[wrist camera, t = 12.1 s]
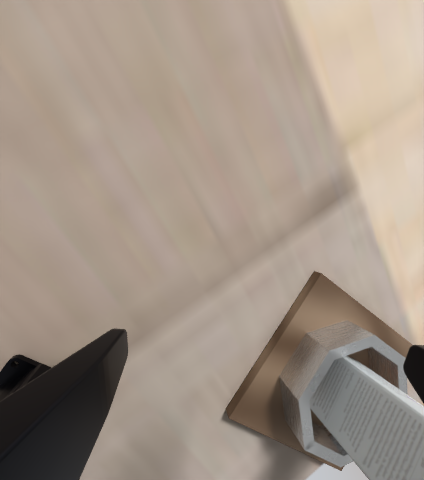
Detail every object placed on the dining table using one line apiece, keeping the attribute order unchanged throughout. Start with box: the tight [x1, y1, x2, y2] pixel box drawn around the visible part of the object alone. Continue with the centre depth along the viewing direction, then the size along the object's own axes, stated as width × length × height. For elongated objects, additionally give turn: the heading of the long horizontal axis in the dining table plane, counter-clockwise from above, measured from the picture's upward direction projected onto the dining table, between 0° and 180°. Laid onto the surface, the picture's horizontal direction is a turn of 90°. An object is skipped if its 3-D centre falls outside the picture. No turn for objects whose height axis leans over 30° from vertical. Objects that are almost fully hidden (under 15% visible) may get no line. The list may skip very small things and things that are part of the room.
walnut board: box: [226, 271, 412, 471], centre depth 23 cm, size 16×16×1 cm
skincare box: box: [310, 356, 424, 480], centre depth 17 cm, size 6×4×12 cm
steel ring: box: [279, 320, 407, 468], centre depth 21 cm, size 12×12×3 cm
